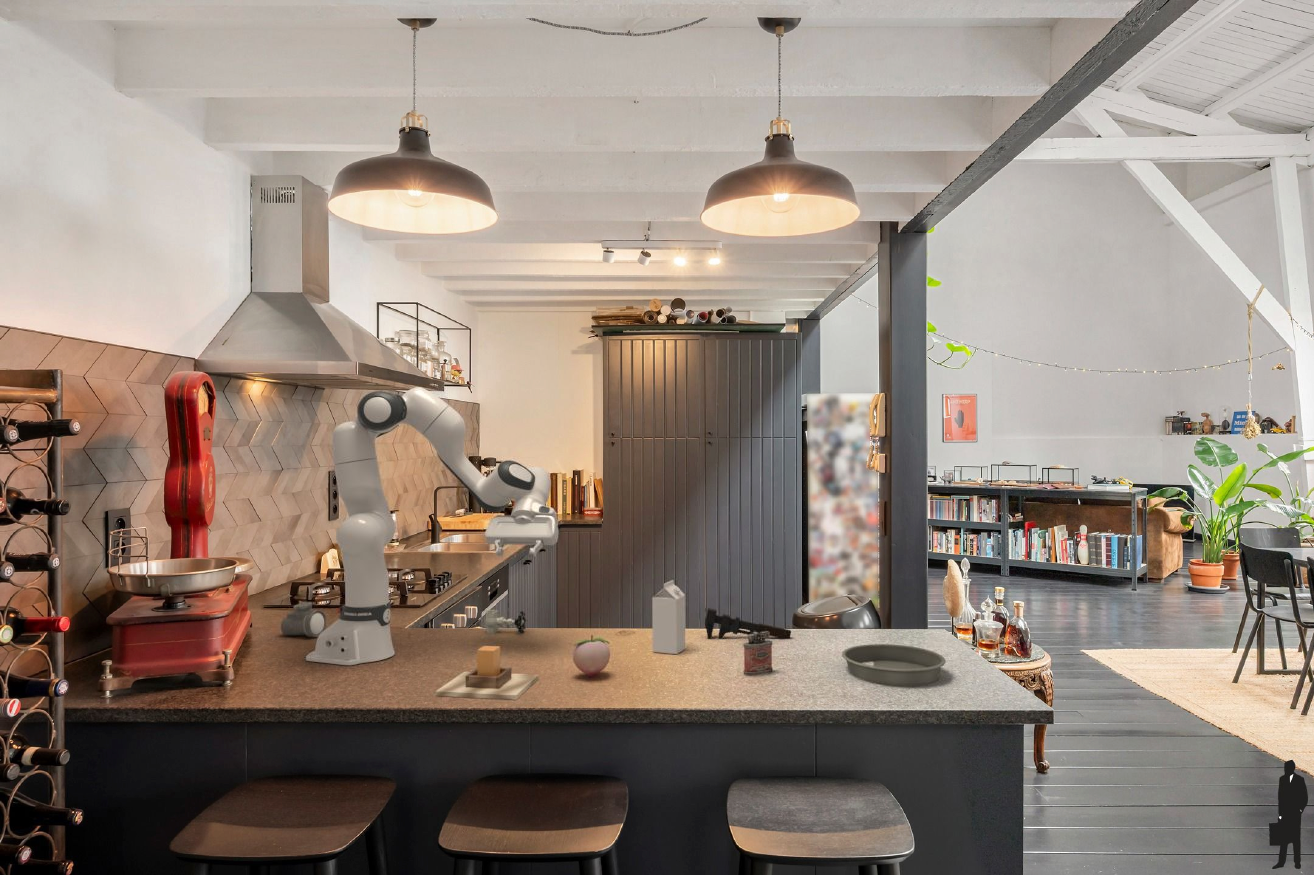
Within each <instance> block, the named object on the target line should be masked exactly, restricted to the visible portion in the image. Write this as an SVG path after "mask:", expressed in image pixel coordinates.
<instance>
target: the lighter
mask: <svg viewBox="0 0 1314 875" xmlns="http://www.w3.org/2000/svg"><path fill="white" fill-rule="evenodd" d="M770 637H771V636H769V632H768V631H766V632H760V633H757V632H753V634H749V635H747V640H748V642H744V643H743V644H742V645H743V649H744V650H743V652H744V653H743V658H744V659H743V660H744V661H743V664H744V665H743V666H744V668H743V669H744V670H743V675H744V676H747V677H753V676H762V675H766V674H767V675H768V674H771V673H773V671H774V670H773V662H772V660H773V654H772V653H773V648H772V647H773V641H772V640H770V639H766V638H770Z"/></svg>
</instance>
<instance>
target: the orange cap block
mask: <svg viewBox="0 0 1314 875" xmlns="http://www.w3.org/2000/svg"><path fill="white" fill-rule="evenodd" d="M476 659H477V660H476V662H477V667H476V669H477V676H496V677H497V676H498V675H500V667H501V646H500V645H499V646H495V645H494V646H493V645H483V646H482V647H480V648H479V649H477V658H476Z"/></svg>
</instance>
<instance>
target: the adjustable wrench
mask: <svg viewBox="0 0 1314 875" xmlns="http://www.w3.org/2000/svg"><path fill="white" fill-rule="evenodd" d="M717 612H718V611H717V609H714V608H711V607H710V608H709V607H707V611H706V616H705V620H704V625H705V629H706V636H707V639H708V640H712V635H713V630H714V625H715V624H718V625H719V626H720V627H719V631H718V635H717V639H718V640H722V639H723V638H724V636H725V635H726V634H729V633H732V634H733V635H738V634H743V635H747V636H748V635H749V634H753V632H757V633H760V632H766V631H768V632H769V636H770V637H773V638H778V639H783V640H791V633H792V631H791V629H787V628H783V627H779V626H778V627H777V626H773V625H769V624H763V623H761V622H759V623H755V622H751V621H750V622H749V621H747V620H741V617H739V616H735V618H732V617H731V615H729V614H725V613H722V615H717Z"/></svg>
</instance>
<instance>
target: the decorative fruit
mask: <svg viewBox="0 0 1314 875" xmlns="http://www.w3.org/2000/svg"><path fill="white" fill-rule="evenodd" d="M593 636H594V635H593V634H591V637H590V638H591V639H586V638H585V639H584V638H583V639H580V640H578V641H576V642H575V643H574V644H573V645H572V646H573V647H574V649H573V651H572V661H573V663H574V665H575V666H576V668H577V669H578V670H579V671H580V672H582V673H583V674H586V675H588V676H590V677H593V676H594V675H597V674H598V673H600V672H602V671H603V670H604V669H605V668H606V667H607V665H608V664H609V661H610V656H611V650H610V648H609V646H608V645H607V644H609V645H610V644H611V643H610V642H609V641H608V640H607V639H605V638H601V637H596V638H594V637H593ZM593 638H594V639H593Z"/></svg>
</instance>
